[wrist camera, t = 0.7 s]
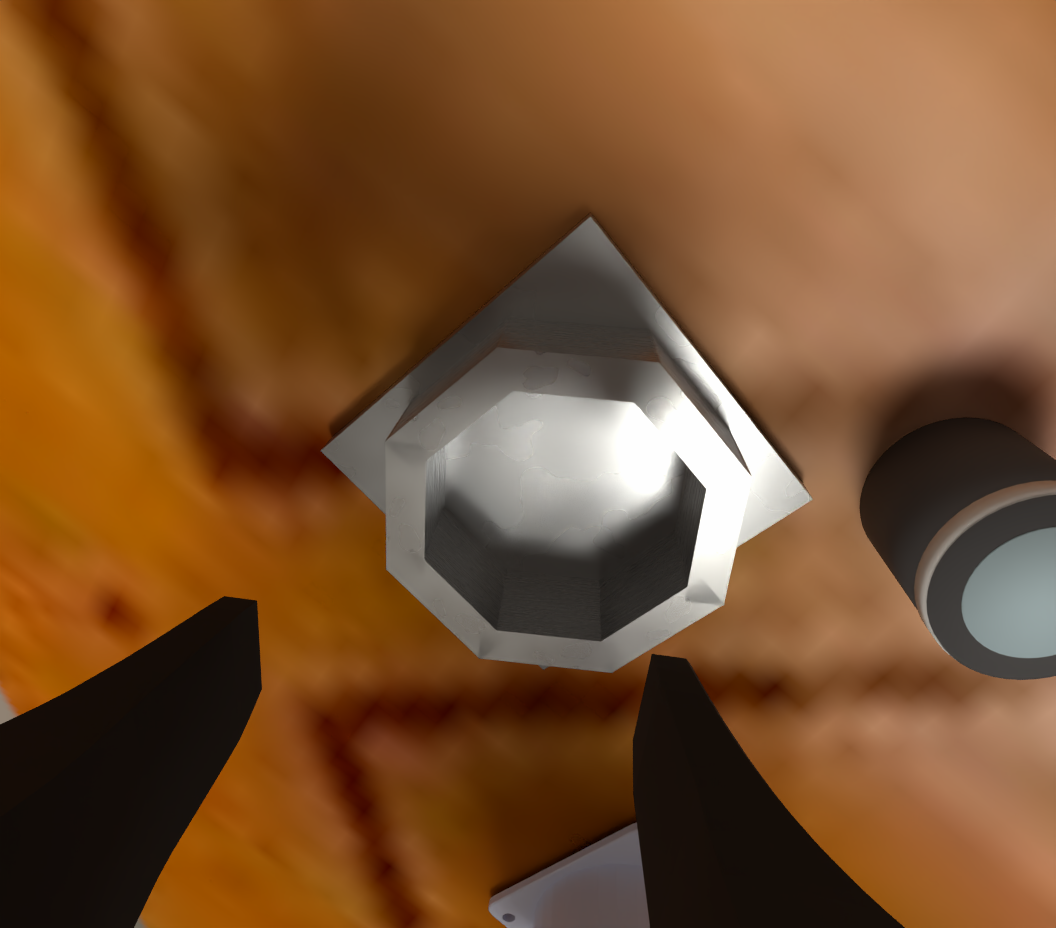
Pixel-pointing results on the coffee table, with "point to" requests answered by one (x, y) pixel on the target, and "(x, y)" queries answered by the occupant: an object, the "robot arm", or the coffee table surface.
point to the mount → (566, 468)
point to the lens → (972, 541)
